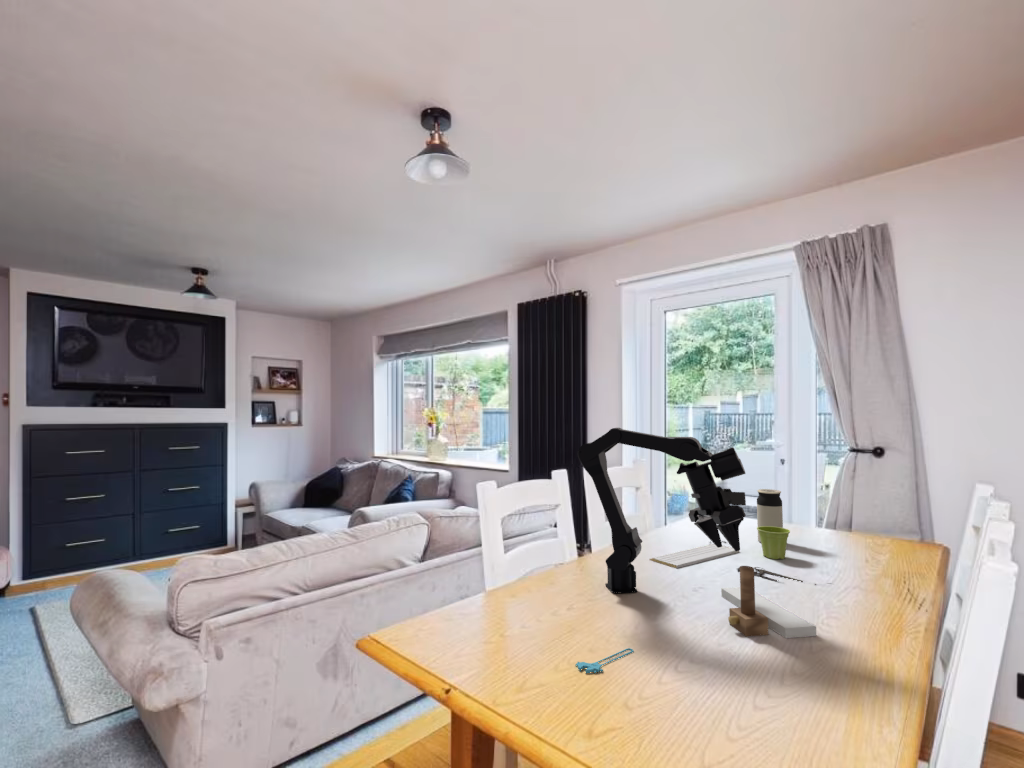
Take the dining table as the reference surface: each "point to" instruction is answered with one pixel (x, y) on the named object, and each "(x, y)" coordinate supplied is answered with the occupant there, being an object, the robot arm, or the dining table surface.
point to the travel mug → (769, 509)
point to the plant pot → (773, 541)
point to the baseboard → (694, 555)
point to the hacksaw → (769, 573)
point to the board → (774, 615)
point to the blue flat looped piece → (596, 667)
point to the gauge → (748, 607)
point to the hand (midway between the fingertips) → (728, 548)
